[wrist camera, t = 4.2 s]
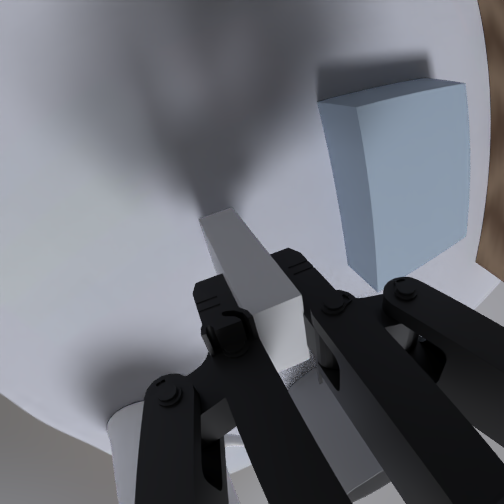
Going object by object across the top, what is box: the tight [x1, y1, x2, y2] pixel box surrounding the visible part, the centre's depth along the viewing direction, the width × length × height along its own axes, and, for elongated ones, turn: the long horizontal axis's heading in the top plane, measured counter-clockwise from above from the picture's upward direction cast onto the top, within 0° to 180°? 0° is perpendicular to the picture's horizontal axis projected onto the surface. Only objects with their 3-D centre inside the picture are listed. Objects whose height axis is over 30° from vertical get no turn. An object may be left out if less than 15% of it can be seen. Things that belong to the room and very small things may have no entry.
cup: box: [288, 367, 391, 503], centre depth 21 cm, size 8×8×10 cm
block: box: [317, 78, 470, 292], centre depth 16 cm, size 10×8×4 cm
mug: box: [107, 401, 269, 504], centre depth 16 cm, size 12×8×12 cm
